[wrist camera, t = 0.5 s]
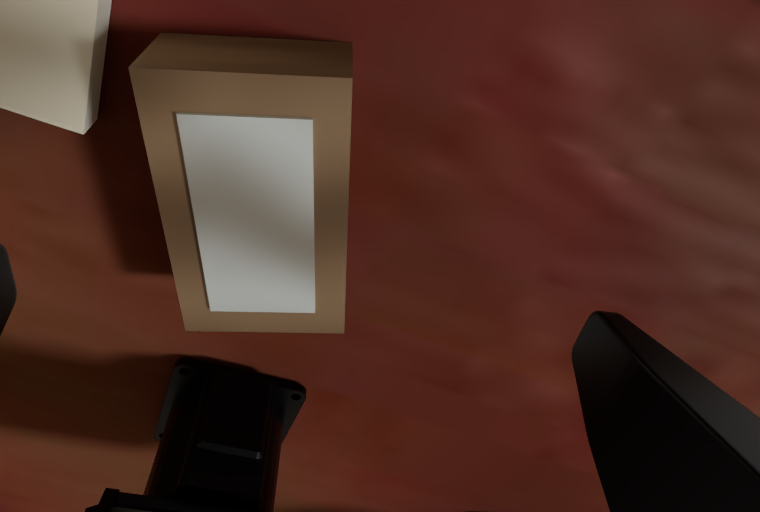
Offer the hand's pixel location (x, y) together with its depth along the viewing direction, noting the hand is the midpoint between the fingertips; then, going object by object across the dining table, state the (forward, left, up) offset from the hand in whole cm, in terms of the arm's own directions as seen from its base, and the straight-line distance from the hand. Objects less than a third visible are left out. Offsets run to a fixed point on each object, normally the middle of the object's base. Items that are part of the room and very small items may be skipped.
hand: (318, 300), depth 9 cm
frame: (-5, +1, -12) cm, 13 cm away
